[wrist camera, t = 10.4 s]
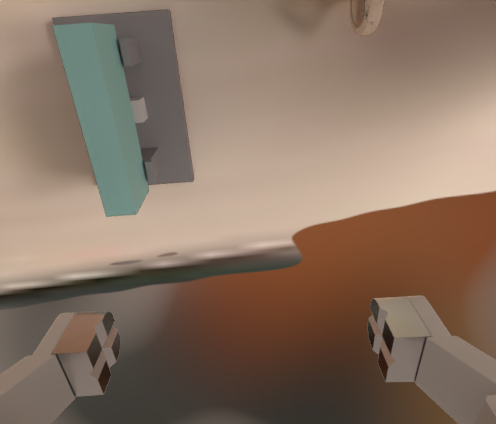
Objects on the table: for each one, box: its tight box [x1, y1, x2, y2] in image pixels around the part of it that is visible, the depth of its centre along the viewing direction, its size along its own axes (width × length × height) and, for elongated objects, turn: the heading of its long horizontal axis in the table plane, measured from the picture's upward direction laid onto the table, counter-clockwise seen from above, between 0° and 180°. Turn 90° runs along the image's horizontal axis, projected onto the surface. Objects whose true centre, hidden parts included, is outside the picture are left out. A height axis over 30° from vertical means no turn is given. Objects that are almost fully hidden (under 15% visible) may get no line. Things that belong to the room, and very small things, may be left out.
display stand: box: [52, 10, 194, 185], centre depth 32 cm, size 10×16×6 cm, turn 4°
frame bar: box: [52, 23, 149, 217], centre depth 28 cm, size 2×14×5 cm, turn 4°
